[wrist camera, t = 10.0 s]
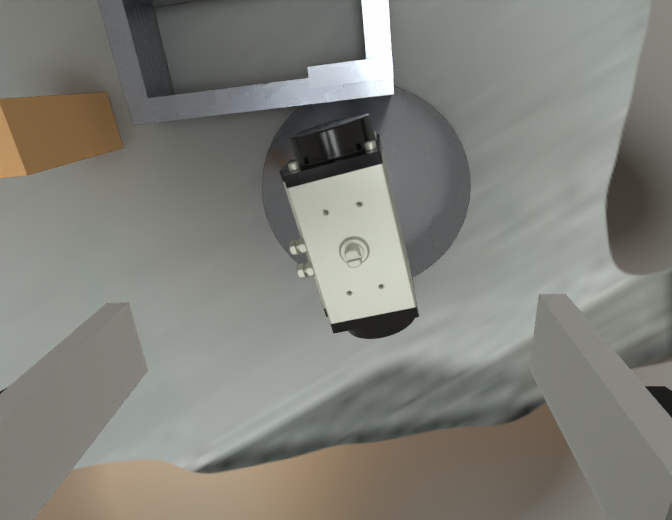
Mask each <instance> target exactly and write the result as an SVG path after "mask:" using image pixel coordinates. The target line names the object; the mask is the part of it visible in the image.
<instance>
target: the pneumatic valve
mask: <svg viewBox="0 0 672 520" xmlns="http://www.w3.org/2000/svg"><path fill="white" fill-rule="evenodd" d="M288 140H289V143H290V146H291V149H292V153H293V156H294V159H293V160H290V161H289V162H288V163H287V164H286V165H285V166H284V167H283V168H282V169H281V170H280V171H279V172H280V175H281V178H282V181H283V184H284V187H285V190H286V193H287V196H288V200H289V203H290V206H291V209H292V212H293V215H294V218H295V221H296V224H297V227H298V230H299V234H300V237H301V238H300V239H299V240H298V242H297V241H296V240H291V241H290V242H289V248H290V252H291V254H292V255H300V252H301V253H306V255H307V258H308V261H309V262H307V263H306V267H305V264H303V263H301V264H298V265H297V272H298V275H299V277H300V278H306V277H307V274H308V276H313V277H314V280H315V283H316V286H317V289H318V292H319V295H320V298H321V301H322V305H323V308H324V311H325V314H326V317H328V318H329V321H330V324H331V327H332V330H333V333H338V332H343V331H349V333H350V334H352V335H354V336H356V337H359V338H365V339H376V338H382V337H387V336H390V335H393V334H395V333H398V332H400V331H402V330H403V329H405V328H406V327H408V326H409V325H410V324H411V323H412V322H413V320H414V319H415V318H416V317H419V314H418V308H417V302H416V296H415V291H414V285H413V279H412V273H411V268H410V264H409V259H408V255H407V251H406V247H405V242H404V238H403V234H402V229H401V225H400V221H399V216H398V212H397V208H396V204H395V199H394V195H393V191H392V186H391V182H390V178H389V174H388V169H387V165H386V161H385V156H384V152H383V148H382V144H381V139H380V135H379V134H376V131H374V130H373V126H372V121H371V117H370V114H359V115H354V116H350V117H346V118H342V119H338V120H335V121H331V122H328V123H324V124H321V125H318V126H315V127H312V128H309V129H306V130H303V131H300V132H298V133H295V134H293V135H291V136H289V138H288Z"/></svg>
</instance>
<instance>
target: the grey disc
mask: <svg viewBox="0 0 672 520" xmlns="http://www.w3.org/2000/svg"><path fill="white" fill-rule="evenodd" d="M307 70H308V78H309V86H310V88H319V87H327V86H335V85H343V84H351V83H359V82H367V81H375V80H383V79H391V78H393V63H392V56H388V57H380V58H372V59H364V60H357V61H349V62H341V63H334V64H326V65H318V66H310V67H307ZM359 114H370V117H371V121H372V126H373V130H374V131H376V134H379V135H380V139H381V144H382V148H383V152H384V156H385V161H386V165H387V169H388V174H389V178H390V182H391V186H392V191H393V195H394V199H395V204H396V208H397V212H398V216H399V221H400V225H401V229H402V234H403V238H404V242H405V247H406V251H407V255H408V259H409V264H410V268H411V273H412V277H414V276H416V275H418V274H420V273H421V272H423V271H424V270H426V269H427V268H429V267H430V266H431V265H432V264H434V263H435V262H436V261H437V260H438V259H439V258H440V257H441V256H442V255H443V254H444V253H445V252H446V251H447V249H448V248H449V247H450V246H451V244H452V243H453V241H454V240H455V238H456V237H457V235H458V233H459V231H460V229H461V227H462V225H463V222H464V219H465V216H466V214H467V209H468V205H469V200H470V187H471V184H470V171H469V166H468V161H467V157H466V154H465V152H464V149H463V146H462V144H461V142H460V140H459V138H458V136H457V134H456V132H455V131H454V130H453V128H452V127H451V125H450V124H449V123H448V121H447V120H446V119H445V118H444V117H443V116H442V115H441V114H440V113H439V112H438V111H437V110H436V109H435V108H433V107H432V106H431V105H430V104H428V103H427V102H426V101H424V100H422V99H421V98H419V97H417V96H415V95H414V94H412V93H410V92H407V91H405V90H402V89H399V88H397V87H394V94H391V95H383V96H375V97H366V98H358V99H349V100H341V101H332V102H324V103H316V104H307V105H302V106H301V107H300V108H299V109H297V110H296V111H295V112H294V113H293V114H292V115H291V116H290V117H289V118H288V119H287V121H286V122H285V123H284V124H283V125H282V127H281V128H280V130H279V131H278V133H277V135H276V136H275V138H274V139H273V142H272V144H271V146H270V149H269V151H268V154H267V157H266V161H265V164H264V170H263V177H262V195H263V204H264V208H265V212H266V216H267V219H268V221H269V224H270V227H271V229H272V231H273V233H274V235H275V236H276V238H277V240H278V241H279V243H280V244H281V246H282V247H283V248H284V250H285V251H286V252H287V253H288V254H289V255H290V256H291V257H292V258H293V259H294V260H295V261H296V262H297V263H298V264H301V263H303V264H305V267H306V263H307V262H309V261H308V258H307V255H306V253H301V252H300V255H292V254H291V252H290V248H289V242H290V241H291V240H296V241H297V242H298V240H299V239H300V238H301V237H300V234H299V230H298V227H297V224H296V221H295V218H294V215H293V212H292V209H291V206H290V203H289V200H288V196H287V193H286V190H285V187H284V184H283V181H282V178H281V175H280V172H279V171H280V170H281V169H282V168H283V167H284V166H285V165H286V164H287V163H288V162H289V161H290V160H293V159H294V156H293V153H292V149H291V146H290V143H289V140H288V138H289V136H291V135H293V134H295V133H298V132H300V131H303V130H306V129H309V128H312V127H315V126H318V125H321V124H324V123H328V122H331V121H335V120H338V119H342V118H346V117H350V116H354V115H359Z"/></svg>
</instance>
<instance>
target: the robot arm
mask: <svg viewBox="0 0 672 520" xmlns="http://www.w3.org/2000/svg"><path fill="white" fill-rule="evenodd" d="M529 370H530V371H531V373H532V375H533V377H534V379H535V381H536V383H537V385H538V387H539V389H540V391H541V393H542V395H543V397H544V399H545V401H546V402H547V404H548V406H549V408H550V410H551V412H552V414H553V416H554V418H555V420H556V421H557V424H558V426H559V428H560V429H561V432H562V433H563V435H564V437H565V439H566V441H567V443H568V445H569V447H570V449H571V451H572V453H573V455H574V457H575V458H576V461H577V462H578V464H579V466H580V468H581V470H582V472H583V474H584V476H585V478H586V480H587V482H588V484H589V486H590V488H591V490H592V491H593V493H594V495H595V497H596V499H597V501H598V503H599V505H600V507H601V509H602V511H603V513H604V515H605V517H606V518H607V520H672V391H671V390H669V389H668V388H666V387H665V386H664V387H662V386H659V387H658V386H655V387H654V386H648V387H647V386H644V385H643V384H642V383H641V381H639V379H638V378H637V377H636V376H635V374H634V373H633V372H632V371H631V370H630V369H629V367H628V366H627V365H626V364H625V363H624V362H623V360H622V359H621V358H620V357H619V356H618V355H617V353H616V352H615V351H614V350H613V349H612V348H611V346H610V345H609V344H608V343H607V342H606V341H605V339H604V338H603V337H602V336H601V335H600V334H599V332H598V331H597V330H596V329H595V328H594V327H593V325H592V324H591V323H590V322H589V321H588V320H587V318H586V317H585V316H584V315H583V314H582V313H581V311H580V310H579V309H578V308H577V307H576V306H575V304H574V303H573V302H572V301H571V300H570V299H569V297H568V296H567V295H566V294H539V298H538V306H537V314H536V322H535V330H534V338H533V345H532V353H531V361H530V369H529ZM147 371H148V369H147V365H146V362H145V358H144V355H143V351H142V348H141V344H140V341H139V337H138V334H137V330H136V327H135V323H134V320H133V316H132V312H131V309H130V305H129V302H127V303H106V304H105V305H104V306H103V307H102V308H101V309H99V310H98V311H97V312H96V313H95V314H93V315H92V316H91V317H90V318H89V319H88V320H86V321H85V322H84V323H83V324H82V325H81V326H79V327H78V328H77V329H76V330H75V331H74V332H72V333H71V334H70V335H69V336H68V337H67V338H65V339H64V340H63V341H62V342H61V343H59V344H58V345H57V346H56V347H55V348H54V349H52V350H51V351H50V352H49V353H48V354H47V355H45V356H44V357H43V358H42V359H41V360H40V361H38V362H37V363H36V364H35V365H34V366H33V367H31V368H30V369H29V370H28V371H27V372H26V373H24V374H23V375H22V376H21V377H20V378H18V379H17V380H16V381H15V382H14V383H13V384H11V385H10V386H9V387H7V388H6V389H4V390H2V391H0V520H33V519H34V518H35V517H36V515H37V514H38V513H39V512H40V510H41V509H42V508H43V506H44V505H45V504H46V502H47V501H48V500H49V499H50V497H51V496H52V495H53V493H54V492H55V491H56V489H57V488H58V487H59V485H60V484H61V483H62V482H63V480H64V479H65V478H66V476H67V475H68V474H69V473H70V471H71V470H72V469H73V467H74V466H75V465H76V463H77V462H78V461H79V460H80V458H81V457H82V456H83V454H84V453H85V452H86V450H87V449H88V448H89V447H90V445H91V444H92V443H93V441H94V440H95V439H96V437H97V436H98V435H99V433H100V432H101V431H102V430H103V428H104V427H105V426H106V424H107V423H108V422H109V420H110V419H111V418H112V417H113V415H114V414H115V413H116V411H117V410H118V409H119V407H120V406H121V405H122V404H123V402H124V401H125V400H126V398H127V397H128V396H129V394H130V393H131V392H132V391H133V389H134V388H135V387H136V385H137V384H138V383H139V381H140V380H141V379H142V378H143V376H144V375H145V374H146V372H147Z"/></svg>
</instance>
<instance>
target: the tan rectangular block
mask: <svg viewBox="0 0 672 520" xmlns="http://www.w3.org/2000/svg"><path fill="white" fill-rule="evenodd" d="M121 148H123V145H122V141H121V138H120V134H119V131H118V128H117V124H116V121H115V117H114V114H113V111H112V107H111V104H110V100H109V97H108V94H107V92H100V93H85V94H69V95H53V96H37V97H21V98H6V99H0V178H8V177H17V176H26V175H31V174H34V173H37V172H41V171H44V170H48V169H51V168H55V167H58V166H62V165H65V164H69V163H72V162H76V161H79V160H83V159H86V158H90V157H93V156H97V155H100V154H104V153H107V152H111V151H114V150H118V149H121Z"/></svg>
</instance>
